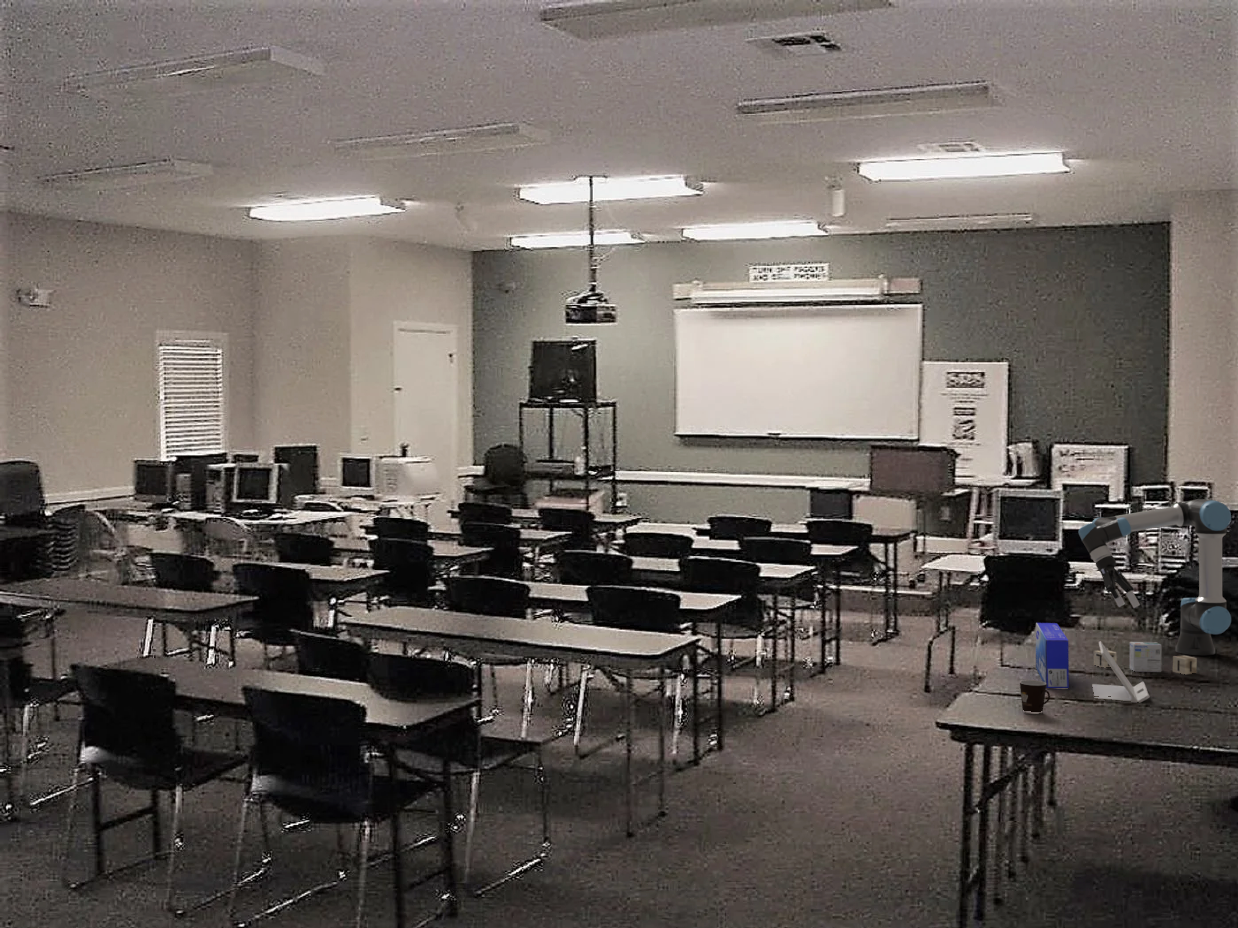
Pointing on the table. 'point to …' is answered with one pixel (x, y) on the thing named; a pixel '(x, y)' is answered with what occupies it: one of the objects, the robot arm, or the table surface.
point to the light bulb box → (1145, 656)
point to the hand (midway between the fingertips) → (1129, 606)
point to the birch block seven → (1100, 660)
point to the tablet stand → (1119, 692)
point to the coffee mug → (1033, 695)
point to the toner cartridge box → (1052, 655)
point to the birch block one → (1184, 664)
